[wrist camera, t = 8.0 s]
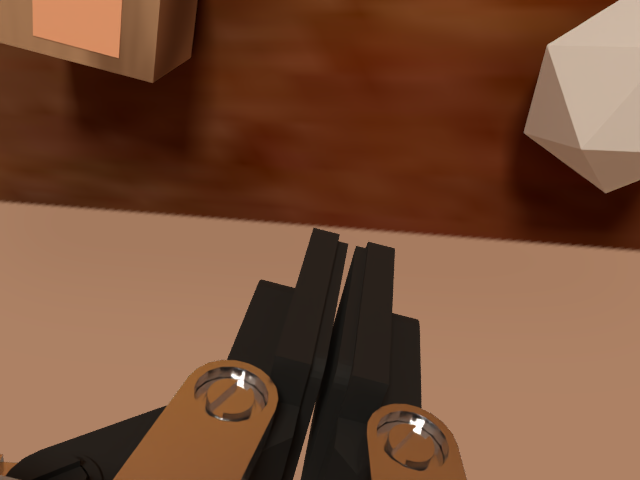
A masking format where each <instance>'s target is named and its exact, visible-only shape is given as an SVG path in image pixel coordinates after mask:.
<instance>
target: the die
mask: <svg viewBox="0 0 640 480" xmlns="http://www.w3.org/2000/svg"><path fill="white" fill-rule="evenodd" d="M524 134H526V135H527V136H528V137H530V138H531V139H532V140H534V141H535V142H536V143H538V144H539V145H541V146H542V147H543V148H545V149H546V150H547V151H549V152H550V153H551V154H553V155H554V156H556V157H557V158H558V159H560V160H561V161H562V162H564V163H565V164H566V165H568V166H569V167H571V168H572V169H573V170H575V171H576V172H577V173H579V174H580V175H581V176H583V177H584V178H585V179H587V180H588V181H590V182H591V183H592V184H594V185H595V186H596V187H598V188H599V189H600V190H602V191H603V192H605V193H608V192H611V191H613V190H616V189H618V188H621V187H623V186H626V185H628V184H631V183H634V182H636V181H639V180H640V0H619V1H617V2H616V3H614V4H612V5H611V6H609V7H608V8H606V9H604V10H603V11H601V12H600V13H598V14H596V15H595V16H593V17H592V18H590V19H588V20H587V21H585V22H584V23H582V24H580V25H579V26H577V27H576V28H574V29H572V30H571V31H569V32H568V33H566V34H564V35H563V36H561V37H559V38H558V39H556V40H555V41H553V42H551V43H550V44H548V45H547V47H546V51H545V55H544V58H543V62H542V66H541V70H540V73H539V77H538V81H537V84H536V88H535V92H534V96H533V99H532V103H531V107H530V110H529V114H528V118H527V122H526V125H525V129H524Z"/></svg>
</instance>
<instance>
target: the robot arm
mask: <svg viewBox="0 0 640 480" xmlns="http://www.w3.org/2000/svg"><path fill="white" fill-rule="evenodd" d="M338 240H339V234H336V233H332V232H328V231H324V230H320V229H316V228H314V229H313V232H312V235H311V238H310V242H309V245H308V248H307V251H306V255H305V258H304V261H303V265H302V268H301V271H300V275H299V278H298V281H297V284H296V288H292V287H288V286H284V285H280V284H277V283H273V282H269V281H265V280H260V281H259V283H258V285H257V288H256V290H255V293H254V295H253V298H252V300H251V302H250V305H249V307H248V310H247V312H246V315H245V318H244V320H243V322H242V325H241V327H240V329H239V332H238V335H237V337H236V339H235V342H234V344H233V347H232V349H231V352H230V354H229V356H228V359H227V360H219V361H214V362H209V363H207V364H205V365H203V366H200V367H199V368H197V369H196V370H195V371H194V372H193V373H192V374H191V375H189V376H188V378H187V379H186V381H185V382H184V383H183V385H182V386H181V387H180V389H179V390H178V391H177V393H176V394H175V396H174V397H173V398H172V400H171V401H170V402H169V404H168V405H167V406H164V407H161V408H158V409H155V410H152V411H150V412H147V413H144V414H141V415H139V416H135V417H133V418H130V419H127V420H124V421H121V422H119V423H116V424H113V425H110V426H107V427H105V428H102V429H99V430H96V431H93V432H90V433H88V434H85V435H82V436H79V437H76V438H74V439H70V440H68V441H65V442H62V443H59V444H57V445H54V446H51V447H48V448H45V449H42V450H40V451H38V452H36V453H34V454H32V455H29V456H28V457H25V458H24V459H22V460H21V461H20V462H19V463H16V462H4V460H3V454H0V480H293V477H294V474H295V470H296V467H297V464H298V460H299V457H300V453H301V450H302V446H303V443H304V439H305V436H306V432H307V429H308V426H309V422H310V419H311V415H312V412H313V408H314V405H315V408H314V413H313V419H312V424H311V429H310V434H309V440H308V445H307V450H306V455H305V460H304V466H303V471H302V476H301V480H467V478H466V474H465V470H464V467H463V463H462V459H461V455H460V452H459V448H458V445H457V442H456V440H455V438H454V436H453V434H452V432H451V431H450V430H449V429H448V427H447V426H446V425H445V424H444V423H443V422H442V421H441V420H439V419H438V418H437V417H436V416H434V415H433V414H431V413H429V412H427V411H425V410H423V409H421V367H420V326H419V321H418V320H417V319H413V318H409V317H405V316H402V315H398V314H394V313H392V301H393V278H394V277H393V276H394V257H395V249H394V248H391V247H387V246H383V245H379V244H375V243H371V242H368V243H367V246H366V248H362V247H358V246H356V249H355V251H354V255H353V258H352V262H351V265H350V269H349V272H348V276H347V279H346V283H345V286H344V290H343V293H342V297H341V300H340V304H339V307H338V311H337V314H336V318H335V321H334V317H335V312H336V307H337V301H338V296H339V291H340V285H341V280H342V275H343V269H344V264H345V258H346V253H347V247H348V244H347V243H342V242H339V241H338ZM333 323H334V325H333ZM315 402H316V403H315Z"/></svg>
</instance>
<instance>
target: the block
mask: <svg viewBox="0 0 640 480" xmlns="http://www.w3.org/2000/svg"><path fill="white" fill-rule="evenodd" d="M197 1H198V0H0V43H4V44H8V45H12V46H15V47H19V48H23V49H27V50H30V51H34V52H38V53H42V54H45V55H49V56H53V57H57V58H60V59H64V60H68V61H72V62H75V63H79V64H83V65H87V66H90V67H94V68H98V69H102V70H106V71H109V72H113V73H117V74H121V75H124V76H128V77H132V78H136V79H139V80H143V81H147V82H151V83H154V82H155V81H157V80H158V79H160V78H161V77H163V76H164V75H166V74H167V73H169V72H170V71H172V70H173V69H175V68H176V67H178V66H179V65H181V64H182V63H184V62H185V61H187V60H188V59H190V58H191V53H192V44H193V36H194V27H195V19H196V10H197Z"/></svg>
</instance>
